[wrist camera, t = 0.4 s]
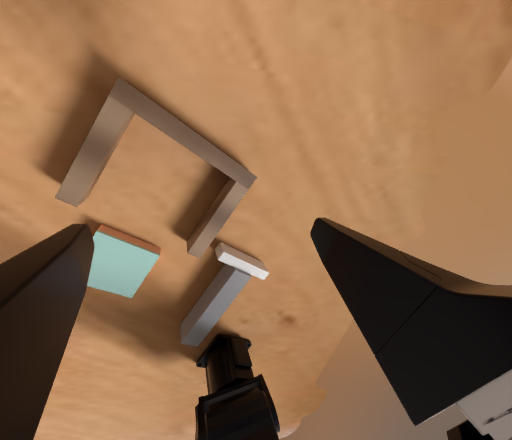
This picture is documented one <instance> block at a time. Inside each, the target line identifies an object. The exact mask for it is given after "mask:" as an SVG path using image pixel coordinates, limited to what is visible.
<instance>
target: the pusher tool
mask: <svg viewBox="0 0 512 440" xmlns="http://www.w3.org/2000/svg"><path fill="white" fill-rule="evenodd" d="M215 252H216V255H217V259H218V260H219V261H221V262H223V263H225V264H224V266H223V267H222V268H221V270H220V271H219V273H218V274H217V275H216V277H215V278H214V279H213V281H212V282H211V284H210V285H209V286H208V288H207V289H206V290H205V292H204V293H203V294H202V296H201V297H200V299H199V300H198V301H197V303H196V304H195V305H194V307H193V308H192V310H191V311H190V312H189V314H188V315H187V316H186V318H185V319H184V320H183V322H182V323H181V325H180V332H181V344H185V345H190V346H195V347H198V346H199V345H200V343H201V342H202V341H203V339H204V338H205V337H206V335H207V334H208V333H209V332H210V330H211V329H212V328H213V326H214V325H215V324H216V322H217V321H218V320H219V319H220V317H221V316H222V315H223V313H224V312H225V311H226V309H227V308H228V307H229V305H230V304H231V303H232V302H233V300H234V299H235V298H236V296H237V295H238V294H239V292H240V291H241V290H242V289H243V287H244V286H245V285H246V283H247V282H248V281H249V279H250V278H251V275H253V276H256V277H258V278H260V279H263V280H264V279H265V278H266V276H267V275H268V274H269V272H268V270H267V268H266V267H265V265H264V263H263V262H261V261H259V260H257V259H255V258H253V257H251V256H249V255H247V254H244V253H242V252H240V251H238V250H236V249H234V248H232V247H230V246H228V245H226V244H224V243H222V242H220V243H219V245H218V246H217V247H216V249H215ZM250 274H251V275H250Z"/></svg>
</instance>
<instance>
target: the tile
mask: <svg viewBox="0 0 512 440" xmlns="http://www.w3.org/2000/svg"><path fill="white" fill-rule="evenodd" d="M93 241H94V247H95V248H94V254H93V259H92V264H91V269H90V274H89V279H88V284H87V286H89V287H93V288H96V289H100V290H104V291H107V292H111V293H115V294H118V295H122V296H126V297H129V298H132V297H133V295H134V294H135V292H136V291H137V289H138V288H139V286H140V285H141V283H142V282H143V280H144V279H145V277H146V276H147V274H148V273H149V271H150V270H151V268H152V267H153V265H154V264H155V262H156V261H157V259H158V258H159V256H160V250H161V248H159V247H157V246H154V245H152V244H149V243H147V242H145V241H142V240H140V239H137V238H135V237H132V236H130V235H127V234H125V233H122V232H120V231H117V230H115V229H112V228H110V227H107V226H105V225H102V224H101V226H100V227H99V228H98V230H97V231H96V233H95V235H94V236H93Z"/></svg>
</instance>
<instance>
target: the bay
mask: <svg viewBox="0 0 512 440" xmlns="http://www.w3.org/2000/svg"><path fill="white" fill-rule="evenodd" d="M134 114H137V115H138V116H140V117H141V118H143V119H144V120H146V121H147V122H149V123H150V124H152V125H153V126H155V127H156V128H158V129H159V130H161V131H162V132H164V133H165V134H167V135H168V136H170V137H171V138H173V139H174V140H176V141H177V142H179V143H180V144H182V145H183V146H184V147H186V148H187V149H189V150H190V151H192V152H193V153H195V154H196V155H198V156H199V157H201V158H202V159H204V160H205V161H207V162H208V163H210V164H211V165H213V166H214V167H216V168H217V169H219V170H220V171H222V172H223V173H225V174H226V175H228V176H229V177H230V178H229V180H228V181H227V183H226V184H225V186H224V187H223V189H222V190H221V191H220V193H219V194H218V196H217V197H216V199H215V200H214V202H213V203H212V205H211V206H210V208H209V209H208V211H207V212H206V214H205V215H204V217H203V218H202V219H201V221H200V222H199V224H198V225H197V227H196V228H195V230H194V231H193V233H192V234H191V236H190V237H189V239H188V240H187V253H188V254H191V255H193V256H196V257H198V258H201V256H202V255H203V254H204V252H205V251H206V249H207V248H208V247H209V245H210V244H211V242H212V241H213V239H214V238H215V237H216V235H217V234H218V232H219V231H220V229H221V228H222V227H223V225H224V224H225V222H226V221H227V219H228V218H229V217H230V215H231V214H232V212H233V211H234V210H235V208H236V207H237V205H238V204H239V202H240V201H241V200H242V198H243V197H244V195H245V194H246V192H247V191H248V190H249V188H250V187H251V185H252V184H253V182H254V181H255V180H256V178H257V177H256V176H255V175H254V174H252V173H251V172H249V171H248V170H247V169H245V168H244V167H243V166H241V165H240V164H238V163H237V162H236V161H234V160H233V159H232V158H230V157H229V156H227V155H226V154H225V153H223V152H222V151H221V150H219V149H218V148H216V147H215V146H214V145H212V144H211V143H210V142H208V141H207V140H205V139H204V138H203V137H201V136H200V135H199V134H197V133H196V132H194V131H193V130H192V129H190V128H189V127H188V126H186V125H185V124H184V123H182V122H181V121H179V120H178V119H177V118H175V117H174V116H173V115H171V114H170V113H168V112H167V111H166V110H164V109H163V108H162V107H160V106H159V105H157V104H156V103H155V102H153V101H152V100H151V99H149V98H148V97H146V96H145V95H144V94H142V93H141V92H140V91H138V90H137V89H135V88H134V87H133V86H131V85H130V84H129V83H127V82H126V81H124V80H123V79H122V78H120V77H118V79H117V81H116V83H115V85H114V86H113V88H112V90H111V92H110V94H109V96H108V98H107V100H106V102H105V103H104V105H103V107H102V109H101V111H100V113H99V115H98V117H97V119H96V121H95V122H94V124H93V126H92V128H91V130H90V132H89V134H88V136H87V138H86V139H85V141H84V143H83V145H82V147H81V149H80V151H79V153H78V155H77V156H76V158H75V160H74V162H73V164H72V166H71V168H70V170H69V172H68V174H67V175H66V177H65V179H64V181H63V183H62V185H61V187H60V189H59V191H58V192H57V194H56V196H55V198H56V199H58V200H61V201H63V202H66V203H68V204H70V205H73V206H75V207H77V206H78V205H80V204H81V203H82V202H83V201H84V200H85V199H86V198H88V196H89V194H90V192H91V191H92V189H93V187H94V185H95V183H96V182H97V180H98V178H99V176H100V174H101V173H102V171H103V169H104V167H105V166H106V164H107V162H108V160H109V158H110V157H111V155H112V153H113V151H114V149H115V148H116V146H117V144H118V142H119V140H120V139H121V137H122V135H123V133H124V131H125V130H126V128H127V126H128V124H129V123H130V121H131V119H132V117H133V115H134Z"/></svg>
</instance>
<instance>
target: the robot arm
mask: <svg viewBox="0 0 512 440" xmlns="http://www.w3.org/2000/svg"><path fill="white" fill-rule="evenodd" d="M311 238H312V240H313V243H314V245H315V247H316V249H317V252H318V254H319V256H320V258H321V261H322V263H323V265H324V266H325V268H326V270H327V272H328V274H329V275H330V277H331V279H332V281H333V282H334V284H335V286H336V288H337V290H338V291H339V293H340V295H341V297H342V298H343V300H344V302H345V304H346V306H347V307H348V309H349V311H350V313H351V314H352V316H353V318H354V320H355V321H356V323H357V325H358V327H359V328H360V330H361V332H362V334H363V336H364V337H365V339H366V341H367V343H368V345H369V346H370V348H371V350H372V351H373V353H374V354H375V357H376V359H377V361H378V363H379V364H380V366H381V368H382V370H383V371H384V373H385V375H386V377H387V378H388V380H389V382H390V384H391V385H392V387H393V389H394V391H395V393H396V395H397V396H398V398H399V400H400V402H401V403H402V405H403V407H404V408H405V411H406V412H407V414H408V416H409V418H410V419H411V421H412V422H413V424H414V425H415V426H417V425H419V424H421V423H423V422H424V421H426V420H428V419H430V418H432V417H434V416H435V415H437V414H439V413H441V412H443V411H445V410H446V409H448V408H450V407H452V406H454V405H456V406H457V407H458V408H459V409H460V410H461V411H462V413H463V414H464V415H465V416H466V417H467V419H466V420H465V421H463V422H461V423H460V424H458V425H456V426H455V427H453V428H452V429H450V430H448V431H447V436H448V440H512V285H510V286H509V285H507V286H506V285H490V284H483V283H480V282H476V281H473V280H470V279H467V278H465V277H462V276H460V275H457V274H455V273H452V272H450V271H447V270H445V269H442V268H440V267H437V266H435V265H432V264H430V263H427V262H425V261H422V260H420V259H418V258H416V257H413V256H411V255H409V254H406V253H404V252H402V251H399V250H397V249H395V248H393V247H390V246H388V245H386V244H384V243H381V242H379V241H377V240H375V239H372V238H370V237H368V236H365V235H363V234H361V233H359V232H356V231H354V230H352V229H350V228H347V227H345V226H343V225H340V224H338V223H336V222H334V221H331V220H329V219H327V218H317V219H316V220H315V222H314V225H313V227H312V230H311ZM94 248H95V247H94V241H93V237H92V233H91V230H90V227H89V225H88V224H72V225H70V226H68V227H66V228H64V229H63V230H61V231H59V232H57V233H55V234H54V235H52V236H50V237H48V238H47V239H45V240H43V241H41V242H39V243H38V244H36V245H34V246H32V247H30V248H29V249H27V250H25V251H23V252H21V253H20V254H18V255H16V256H14V257H12V258H11V259H9V260H7V261H5V262H3V263H2V264H0V440H33V439H34V436H35V433H36V430H37V427H38V424H39V422H40V419H41V416H42V413H43V410H44V408H45V405H46V402H47V399H48V396H49V393H50V391H51V388H52V385H53V382H54V379H55V377H56V374H57V371H58V368H59V365H60V363H61V360H62V357H63V354H64V351H65V348H66V346H67V343H68V340H69V337H70V334H71V332H72V329H73V326H74V323H75V320H76V317H77V315H78V312H79V309H80V306H81V303H82V301H83V298H84V295H85V292H86V288H87V284H88V279H89V274H90V269H91V264H92V259H93V254H94ZM250 346H251V342H250V341H248V340H244V339H239V338H235V337H231V336H227V335H222V334H219V335H217V336H216V337H215V339H214V340H213V341H212V343H211V344H210V345H209V346H208V348H207V349H206V350H205V352H204V353H203V354H202V355H201V357H200V358H199V359H198V361H197V362H196V366H197V367H202V368H205V369H206V378H207V387H208V395H206V396H201V397H199V403H198V405H197V406H196V407H195V413H196V434H195V440H279V438H278V435H277V433H278V432H280V426H279V421H278V416H277V413H276V409H275V406H274V403H273V400H272V398H271V395H270V393H269V390H268V388H267V385H266V383H265V381H264V378H263V376H262V374H260V375H258V376H257V377H254V375H253V372H252V368H251V367H252V363H251V359H250V356H249V353H248V349H249V348H250Z"/></svg>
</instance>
